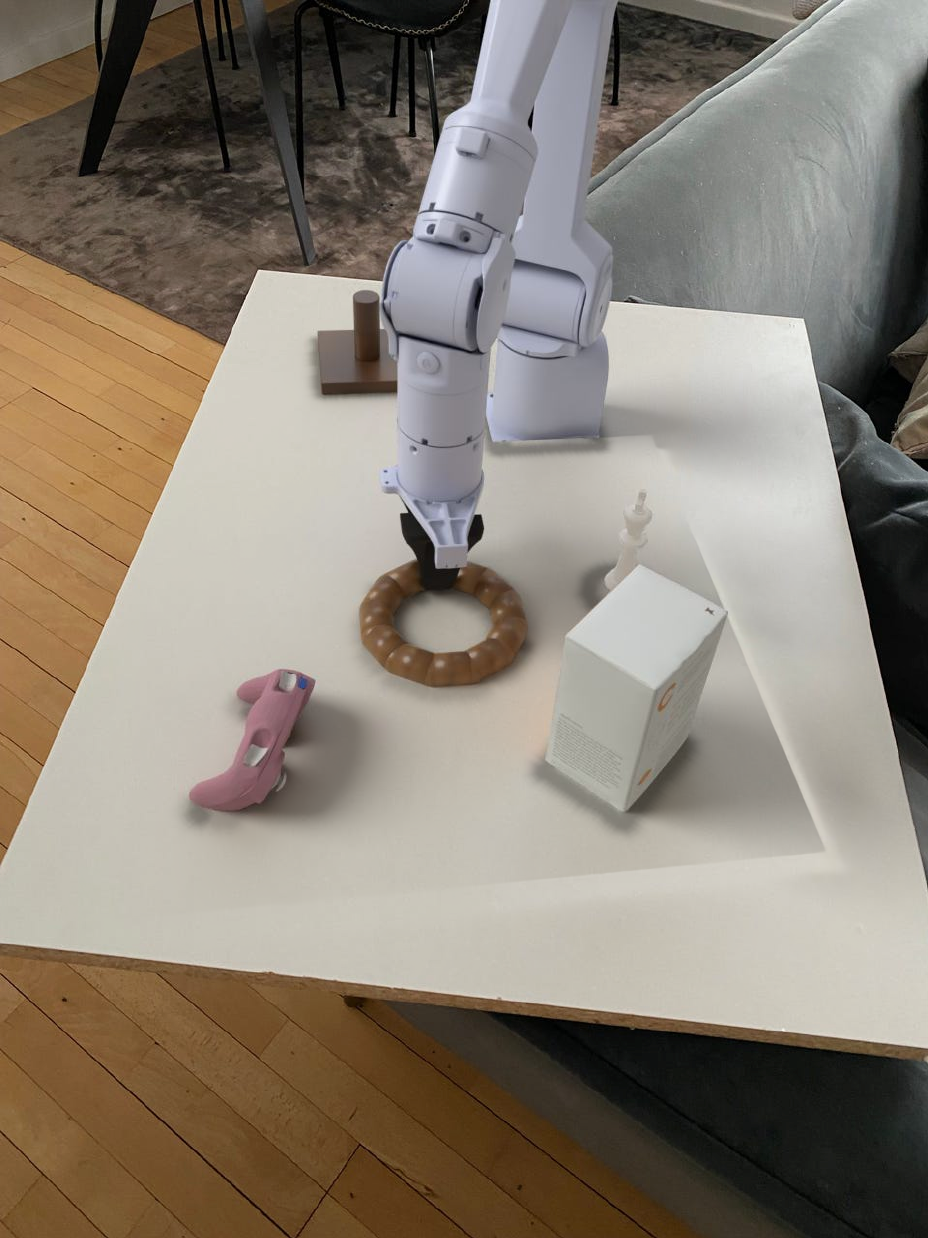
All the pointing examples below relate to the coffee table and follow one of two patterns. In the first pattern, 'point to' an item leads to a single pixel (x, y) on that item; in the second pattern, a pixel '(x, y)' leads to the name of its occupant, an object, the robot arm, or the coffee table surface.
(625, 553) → the chess piece
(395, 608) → the segmented brown ring
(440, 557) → the robot arm
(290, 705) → the video game controller
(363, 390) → the peg stand
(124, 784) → the coffee table surface
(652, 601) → the small box
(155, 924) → the coffee table surface
